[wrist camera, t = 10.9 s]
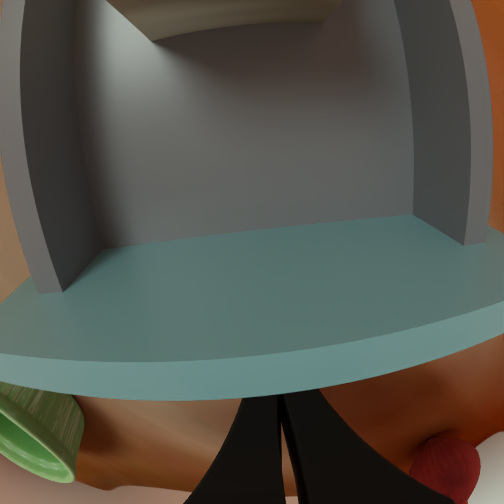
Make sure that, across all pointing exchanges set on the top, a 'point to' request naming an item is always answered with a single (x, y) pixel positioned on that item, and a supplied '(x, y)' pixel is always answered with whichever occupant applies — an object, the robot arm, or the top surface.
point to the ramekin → (40, 431)
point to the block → (216, 14)
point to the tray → (245, 199)
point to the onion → (448, 467)
